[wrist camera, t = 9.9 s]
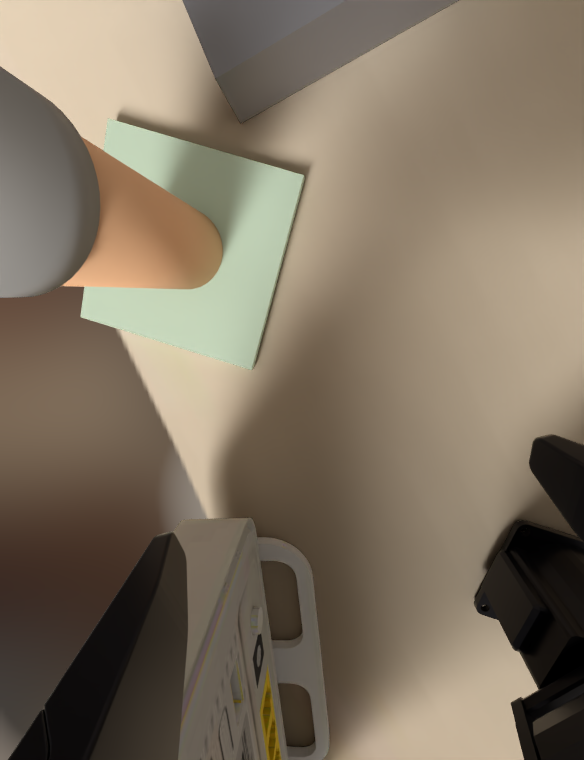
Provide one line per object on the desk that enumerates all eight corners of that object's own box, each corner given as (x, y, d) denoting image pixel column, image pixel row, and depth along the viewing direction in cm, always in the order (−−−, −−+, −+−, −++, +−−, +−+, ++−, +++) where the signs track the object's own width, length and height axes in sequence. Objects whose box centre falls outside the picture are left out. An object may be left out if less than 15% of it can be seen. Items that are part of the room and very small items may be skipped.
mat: (304, 178, 18) (303, 175, 18) (253, 367, 21) (251, 370, 20) (114, 123, 19) (107, 118, 18) (87, 316, 21) (80, 317, 21)
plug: (220, 194, 18) (35, 26, 7) (235, 289, 19) (94, 283, 8) (133, 208, 19) (-175, 74, 7) (151, 300, 20) (-96, 309, 8)
